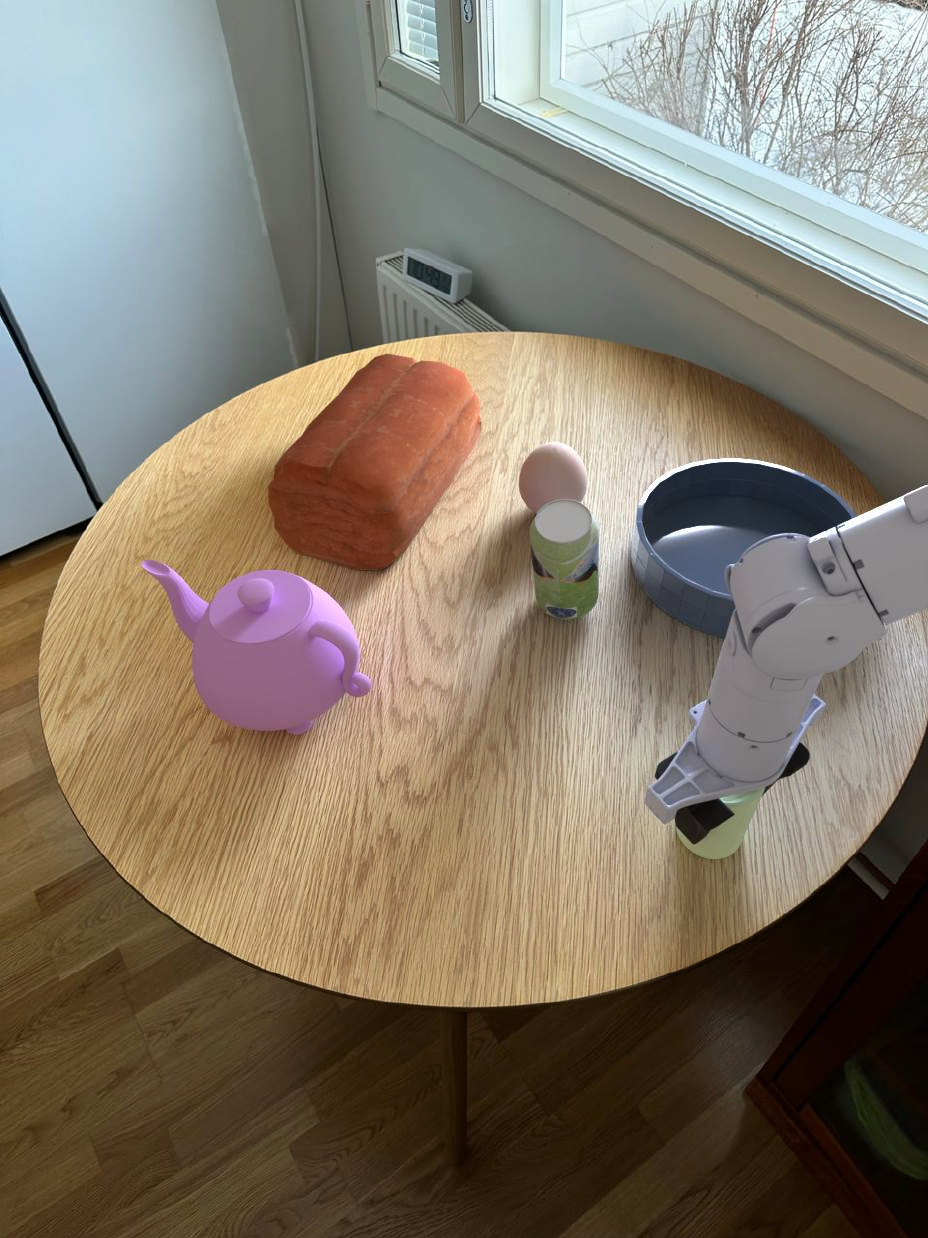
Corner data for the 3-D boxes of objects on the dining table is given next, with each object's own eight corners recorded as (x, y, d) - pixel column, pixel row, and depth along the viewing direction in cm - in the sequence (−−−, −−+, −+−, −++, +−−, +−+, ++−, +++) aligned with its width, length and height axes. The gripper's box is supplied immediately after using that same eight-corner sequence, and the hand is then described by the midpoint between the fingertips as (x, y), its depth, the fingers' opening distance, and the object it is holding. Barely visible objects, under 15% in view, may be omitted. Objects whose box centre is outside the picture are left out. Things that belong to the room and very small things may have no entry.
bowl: (838, 506, 88) (853, 468, 84) (860, 656, 74) (879, 619, 70) (637, 486, 91) (643, 449, 88) (622, 626, 77) (628, 589, 74)
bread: (491, 435, 99) (490, 354, 91) (397, 582, 82) (386, 499, 75) (376, 411, 103) (365, 333, 96) (264, 546, 87) (241, 465, 79)
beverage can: (605, 590, 81) (617, 494, 72) (580, 642, 76) (590, 546, 67) (545, 573, 83) (550, 477, 74) (517, 623, 78) (519, 527, 69)
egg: (597, 504, 89) (603, 440, 83) (562, 541, 86) (566, 477, 79) (541, 482, 92) (543, 418, 86) (505, 516, 89) (505, 453, 83)
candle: (668, 846, 62) (685, 789, 56) (683, 792, 65) (700, 733, 59) (735, 869, 61) (760, 814, 55) (747, 813, 64) (772, 754, 58)
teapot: (139, 711, 73) (86, 615, 63) (228, 603, 81) (192, 505, 72) (337, 782, 67) (310, 688, 58) (410, 657, 76) (397, 558, 66)
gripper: (787, 616, 56) (744, 731, 66) (623, 715, 51) (604, 823, 61) (873, 684, 52) (814, 795, 62) (704, 798, 47) (669, 899, 57)
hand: (714, 814), depth 61 cm, fingers closed on candle, 5 cm apart
